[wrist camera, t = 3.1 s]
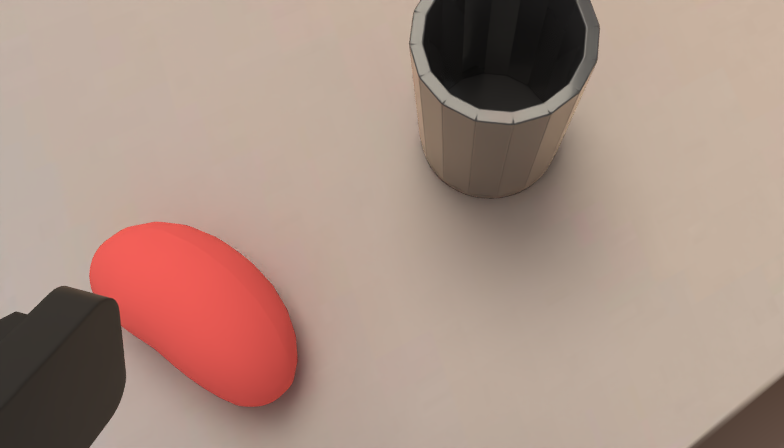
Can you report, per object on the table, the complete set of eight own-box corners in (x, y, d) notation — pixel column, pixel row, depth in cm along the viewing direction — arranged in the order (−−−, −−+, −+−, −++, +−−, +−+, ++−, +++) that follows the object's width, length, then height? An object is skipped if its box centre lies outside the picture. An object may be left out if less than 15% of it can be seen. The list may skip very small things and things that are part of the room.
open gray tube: (586, 142, 32) (639, 46, 23) (479, 226, 31) (490, 161, 22) (498, 44, 33) (516, -82, 24) (393, 123, 32) (373, 24, 24)
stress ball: (234, 202, 34) (114, 168, 28) (349, 329, 29) (228, 316, 23) (178, 291, 35) (52, 274, 30) (279, 429, 30) (149, 437, 25)
